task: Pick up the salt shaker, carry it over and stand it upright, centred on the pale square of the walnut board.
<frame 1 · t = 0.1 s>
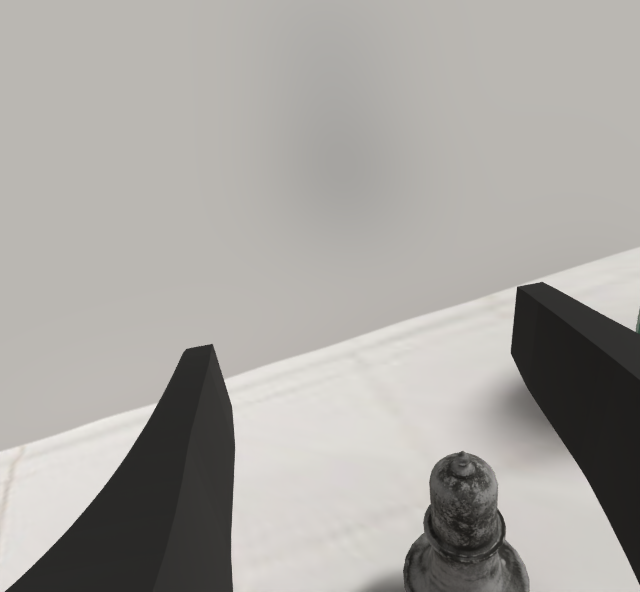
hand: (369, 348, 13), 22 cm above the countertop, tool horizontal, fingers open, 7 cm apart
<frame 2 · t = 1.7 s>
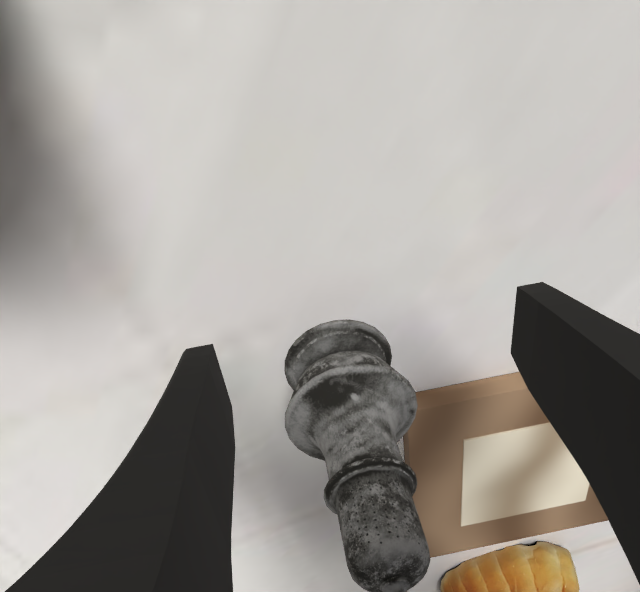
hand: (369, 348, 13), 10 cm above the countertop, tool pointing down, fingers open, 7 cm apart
pastry: (506, 564, 41), on the countertop
walnut board: (519, 455, 33), on the countertop
salt shaker: (337, 360, 27), on the countertop
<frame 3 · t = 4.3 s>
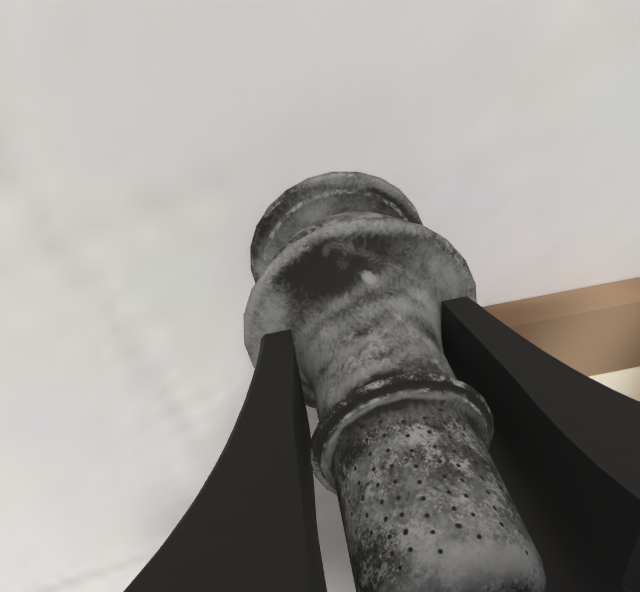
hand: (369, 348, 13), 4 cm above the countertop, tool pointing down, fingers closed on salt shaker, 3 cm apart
walnut board: (602, 418, 23), on the countertop
salt shaker: (337, 251, 17), on the countertop, touching gripper
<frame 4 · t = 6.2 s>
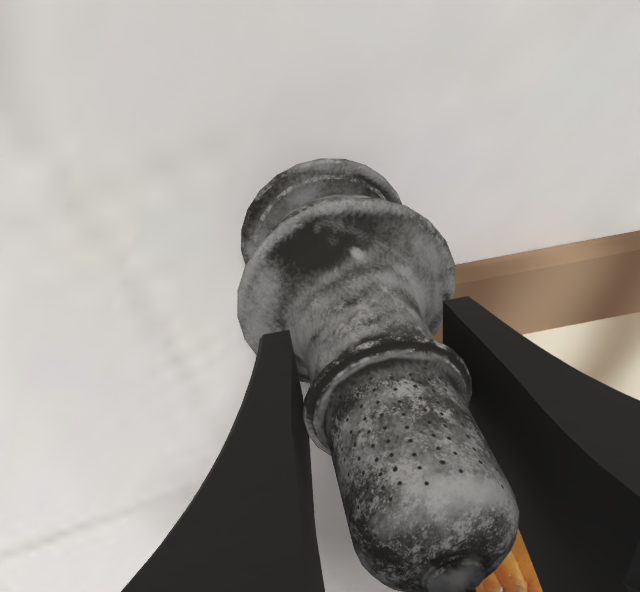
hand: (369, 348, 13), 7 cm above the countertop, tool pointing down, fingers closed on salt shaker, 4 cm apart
pastry: (541, 539, 34), on the countertop
walnut board: (566, 374, 25), on the countertop
salt shaker: (323, 236, 18), point 1 cm above the countertop, touching gripper
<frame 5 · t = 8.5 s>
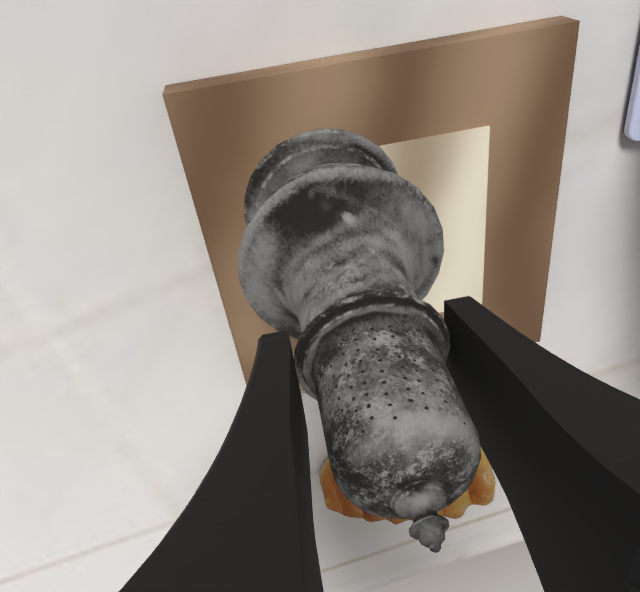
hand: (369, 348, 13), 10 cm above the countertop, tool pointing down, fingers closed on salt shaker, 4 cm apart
pastry: (409, 449, 32), on the countertop
walnut board: (380, 228, 23), on the countertop
salt shaker: (322, 203, 19), point 3 cm above the countertop, touching gripper
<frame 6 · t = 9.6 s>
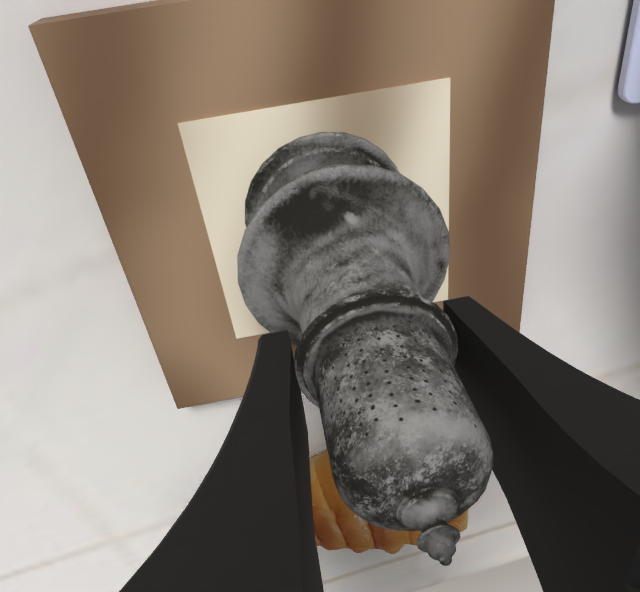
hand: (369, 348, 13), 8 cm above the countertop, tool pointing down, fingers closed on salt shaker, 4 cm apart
pastry: (375, 467, 29), on the countertop
walnut board: (325, 206, 19), on the countertop
salt shaker: (325, 209, 18), point 1 cm above the countertop, touching gripper, walnut board
when the fingers open (6 cm above the countertop, at t = 11.0 s): salt shaker stays where it is, resting on walnut board.
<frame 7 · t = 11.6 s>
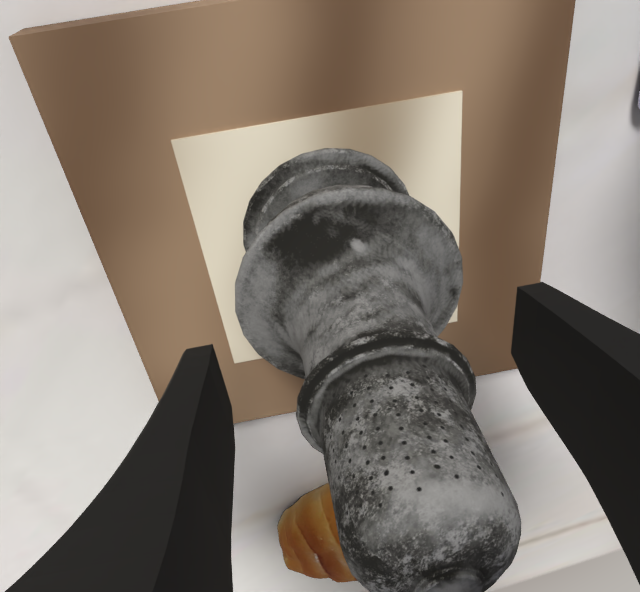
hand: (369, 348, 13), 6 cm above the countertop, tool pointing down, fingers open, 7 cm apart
pastry: (383, 495, 28), on the countertop
walnut board: (328, 225, 18), on the countertop
salt shaker: (328, 229, 17), point 1 cm above the countertop, touching walnut board
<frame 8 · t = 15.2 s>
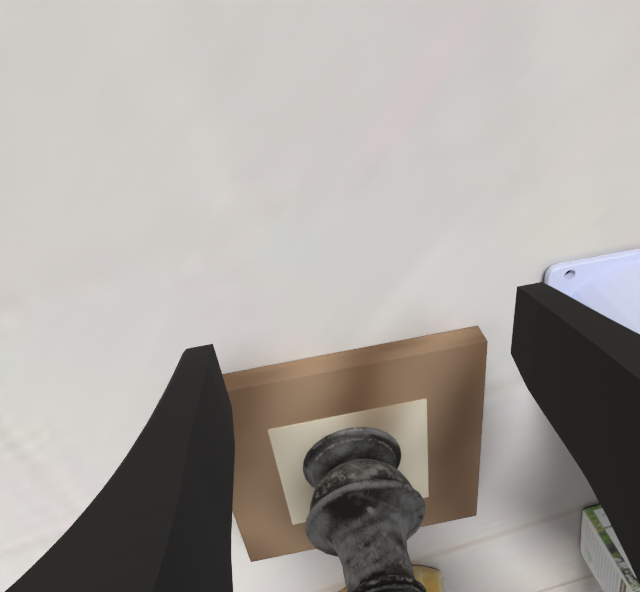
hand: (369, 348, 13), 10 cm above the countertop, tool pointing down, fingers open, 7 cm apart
pastry: (389, 588, 41), on the countertop
walnut board: (350, 447, 31), on the countertop
syrup box: (616, 516, 39), on the countertop
salt shaker: (351, 458, 30), point 1 cm above the countertop, touching walnut board
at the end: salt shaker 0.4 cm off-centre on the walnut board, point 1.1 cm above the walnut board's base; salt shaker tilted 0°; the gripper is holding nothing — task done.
